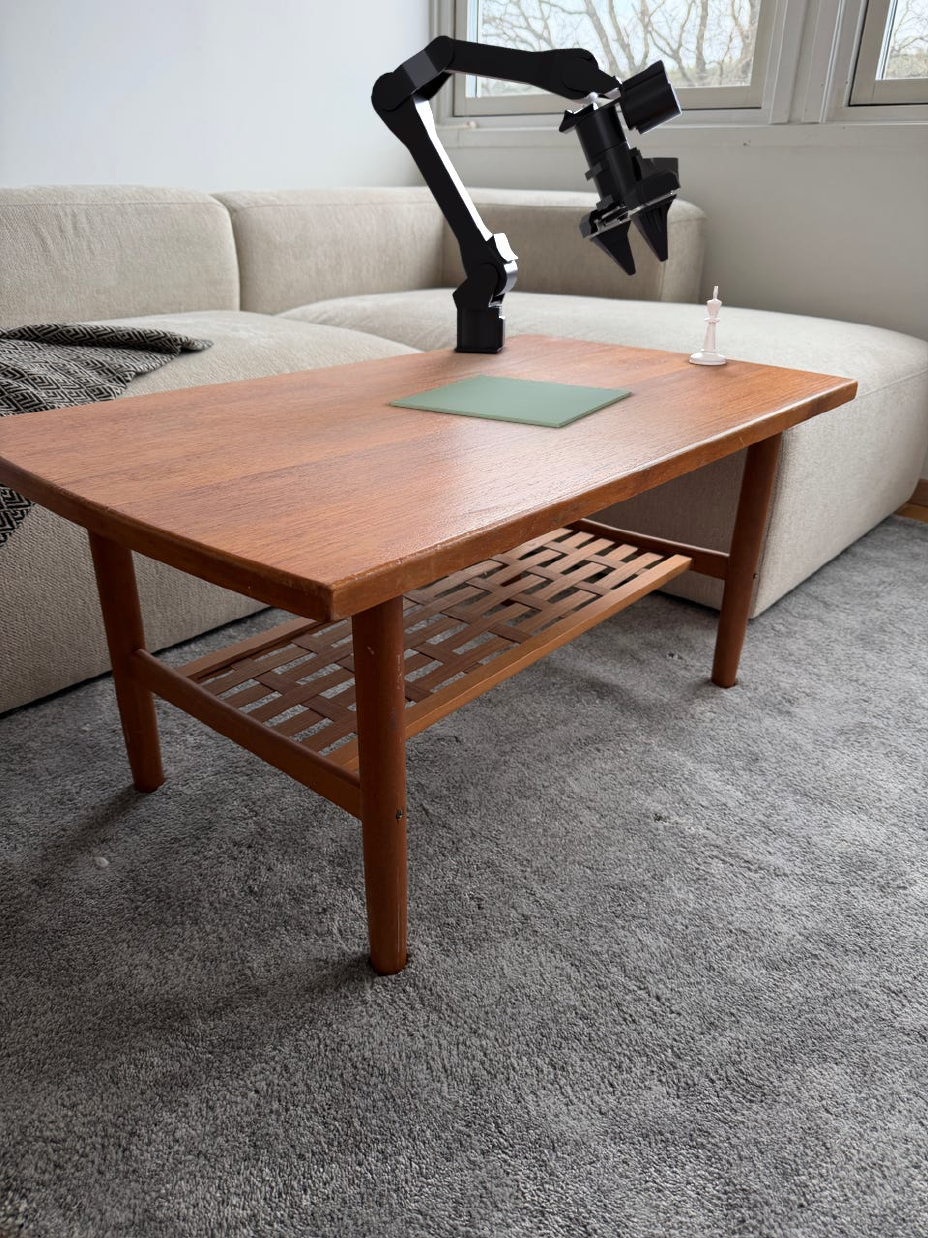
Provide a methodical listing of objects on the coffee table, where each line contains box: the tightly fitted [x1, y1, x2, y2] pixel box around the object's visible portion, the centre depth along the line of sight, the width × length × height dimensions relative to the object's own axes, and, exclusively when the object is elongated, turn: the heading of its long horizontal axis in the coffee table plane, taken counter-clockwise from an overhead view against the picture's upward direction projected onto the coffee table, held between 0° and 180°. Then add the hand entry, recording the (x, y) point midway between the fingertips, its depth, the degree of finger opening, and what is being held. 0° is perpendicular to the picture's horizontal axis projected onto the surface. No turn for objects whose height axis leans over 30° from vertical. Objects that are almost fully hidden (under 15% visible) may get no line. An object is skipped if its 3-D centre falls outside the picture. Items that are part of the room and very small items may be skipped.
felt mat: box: [390, 374, 632, 428], centre depth 102 cm, size 20×20×1 cm
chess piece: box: [689, 285, 727, 366], centre depth 125 cm, size 5×5×10 cm
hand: (648, 267), depth 125 cm, fingers open, 9 cm apart
